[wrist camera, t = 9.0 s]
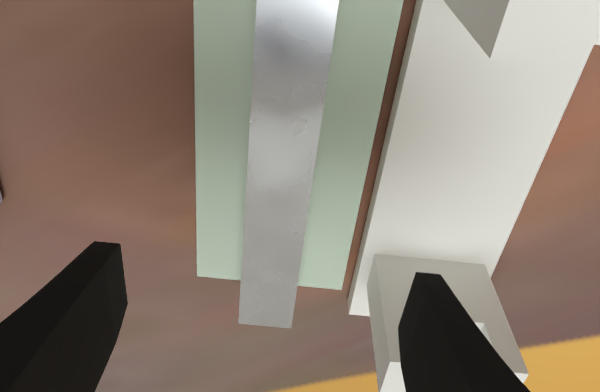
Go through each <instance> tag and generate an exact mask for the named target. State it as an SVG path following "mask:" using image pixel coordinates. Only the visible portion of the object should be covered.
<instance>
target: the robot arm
mask: <svg viewBox="0 0 600 392" xmlns="http://www.w3.org/2000/svg"><path fill="white" fill-rule="evenodd" d="M1 202H2V195H1V192H0V204H1ZM127 304H128V302H127V294H126V286H125V278H124V270H123V262H122V254H121V246H120V244H117V243H106V242H96V241H94V242H93V243H92V244H91V245H89V246H88V247H87V248H86V249H85V250H84V251H83V252H82V253H81V254H80V255H78V256H77V257H76V258H75V259H74V260H73V261H72V262H71V263H70V264H69V265H68V266H67V267H65V268H64V269H63V270H62V271H61V272H60V273H59V274H58V275H57V276H55V277H54V278H53V279H52V280H51V281H50V282H49V283H48V284H46V285H45V286H44V287H43V288H42V289H41V290H40V291H38V292H37V293H36V294H35V295H34V296H33V297H31V298H30V299H29V300H28V301H27V302H26V303H24V304H23V305H22V306H21V307H20V308H18V309H17V310H16V311H15V312H13V313H12V314H11V315H10V316H8V317H7V318H6V319H5V320H3V321H2V322H1V323H0V392H95V390H96V387H97V385H98V383H99V381H100V378H101V376H102V374H103V372H104V369H105V367H106V365H107V362H108V360H109V358H110V355H111V353H112V351H113V348H114V346H115V344H116V341H117V338H118V335H119V331H120V328H121V325H122V321H123V318H124V314H125V311H126V307H127ZM398 338H399V351H400V362H401V370H402V375H403V380H404V385H405V390H406V392H530V391H529V390H528V389H527V387H526V386H525V385H524V384H523V383H522V382H521V381H520V379H519V378H518V377H517V376H516V375H515V374H514V372H513V371H512V370H511V369H510V368H509V366H508V365H507V364H506V363H505V362H504V360H503V359H502V358H501V357H500V355H499V354H498V353H497V352H496V350H495V349H494V348H493V346H492V345H491V344H490V342H489V341H488V340H487V338H486V337H485V336H484V335H483V333H482V332H481V331H480V329H479V328H478V327H477V325H476V324H475V322H474V321H473V320H472V318H471V317H470V316H469V314H468V313H467V311H466V310H465V308H464V307H463V306H462V304H461V303H460V301H459V300H458V298H457V297H456V296H455V294H454V293H453V291H452V290H451V288H450V287H449V286H448V284H447V283H446V281H445V280H444V278H443V277H442V276H441V274H433V273H422V272H416V273H415V276H414V279H413V282H412V285H411V288H410V292H409V295H408V298H407V301H406V304H405V307H404V310H403V313H402V316H401V319H400V322H399V326H398Z"/></svg>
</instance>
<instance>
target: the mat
mask: <svg viewBox="0 0 600 392" xmlns="http://www.w3.org/2000/svg"><path fill="white" fill-rule="evenodd" d="M403 1H404V0H339V4H338V11H337V18H336V25H335V32H334V38H333V45H332V52H331V59H330V66H329V73H328V80H327V86H326V93H325V100H324V107H323V114H322V121H321V127H320V134H319V141H318V148H317V155H316V162H315V169H314V175H313V182H312V189H311V196H310V203H309V210H308V216H307V223H306V230H305V237H304V244H303V251H302V258H301V264H300V271H299V278H298V285H297V286H306V287H317V288H327V289H338V290H341V289H342V285H343V280H344V275H345V271H346V266H347V261H348V257H349V252H350V248H351V243H352V238H353V234H354V229H355V224H356V220H357V215H358V210H359V206H360V201H361V196H362V192H363V187H364V183H365V178H366V173H367V169H368V164H369V159H370V155H371V150H372V145H373V141H374V136H375V131H376V127H377V122H378V118H379V113H380V108H381V104H382V99H383V94H384V90H385V85H386V80H387V76H388V71H389V66H390V62H391V57H392V53H393V48H394V43H395V39H396V34H397V29H398V25H399V20H400V15H401V11H402V6H403ZM256 5H257V0H194V77H195V153H196V230H197V276H200V277H211V278H222V279H232V280H241V270H242V252H243V234H244V217H245V199H246V181H247V164H248V146H249V128H250V111H251V93H252V75H253V58H254V40H255V23H256Z"/></svg>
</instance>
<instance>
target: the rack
mask: <svg viewBox="0 0 600 392" xmlns="http://www.w3.org/2000/svg"><path fill="white" fill-rule="evenodd" d="M594 44H595V45H600V0H416V4H415V8H414V12H413V17H412V21H411V26H410V30H409V34H408V39H407V43H406V47H405V52H404V56H403V60H402V65H401V69H400V74H399V78H398V82H397V87H396V91H395V95H394V100H393V104H392V108H391V113H390V117H389V122H388V126H387V130H386V135H385V139H384V143H383V148H382V152H381V156H380V161H379V165H378V170H377V174H376V178H375V183H374V187H373V191H372V196H371V200H370V205H369V209H368V213H367V218H366V222H365V226H364V231H363V235H362V239H361V244H360V248H359V253H358V257H357V261H356V266H355V270H354V274H353V279H352V283H351V287H350V292H349V296H348V308H349V314H352V315H363V316H370V321H371V330H372V339H373V347H374V356H375V365H376V374H377V382H378V391H379V392H406V390H405V385H404V380H403V375H402V370H401V362H400V351H399V338H398V326H399V322H400V319H401V316H402V313H403V310H404V307H405V304H406V301H407V298H408V295H409V292H410V288H411V285H412V282H413V279H414V276H415V273H416V272H422V273H433V274H441V276H442V277H443V278H444V280H445V281H446V283H447V284H448V286H449V287H450V288H451V290H452V291H453V293H454V294H455V296H456V297H457V298H458V300H459V301H460V303H461V304H462V306H463V307H464V308H465V310H466V311H467V313H468V314H469V316H470V317H471V318H472V320H473V321H474V322H475V324H476V325H477V327H478V328H479V329H480V331H481V332H482V333H483V335H484V336H485V337H486V338H487V340H488V341H489V342H490V344H491V345H492V346H493V348H494V349H495V350H496V352H497V353H498V354H499V355H500V357H501V358H502V359H503V360H504V362H505V363H506V364H507V365H508V366H509V368H510V369H511V370H512V371H513V372H514V374H515V375H516V376H517V377H518V378H519V379H520V381H521V382H522V383H524V381H525V380H526V378H527V376H528V375H529V374H528V371H527V368H526V366H525V363H524V361H523V358H522V356H521V353H520V351H519V348H518V346H517V343H516V341H515V338H514V336H513V333H512V331H511V328H510V326H509V323H508V321H507V318H506V316H505V313H504V311H503V308H502V306H501V303H500V301H499V298H498V296H497V293H496V291H495V288H494V286H493V283H492V281H491V276H492V273H493V271H494V269H495V267H496V264H497V262H498V260H499V258H500V255H501V253H502V251H503V249H504V246H505V244H506V242H507V240H508V237H509V235H510V233H511V231H512V228H513V226H514V224H515V221H516V219H517V217H518V215H519V212H520V210H521V208H522V206H523V203H524V201H525V199H526V197H527V194H528V192H529V190H530V188H531V185H532V183H533V181H534V179H535V176H536V174H537V172H538V170H539V167H540V165H541V163H542V161H543V158H544V156H545V154H546V152H547V149H548V147H549V145H550V143H551V140H552V138H553V136H554V134H555V131H556V129H557V127H558V125H559V122H560V120H561V118H562V115H563V113H564V111H565V109H566V106H567V104H568V102H569V100H570V97H571V95H572V93H573V91H574V88H575V86H576V84H577V82H578V79H579V77H580V75H581V73H582V70H583V68H584V66H585V64H586V61H587V59H588V57H589V55H590V52H591V50H592V48H593V46H594Z"/></svg>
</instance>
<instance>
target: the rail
mask: <svg viewBox="0 0 600 392" xmlns="http://www.w3.org/2000/svg"><path fill="white" fill-rule="evenodd" d="M338 4H339V0H257V5H256V23H255V40H254V58H253V75H252V93H251V111H250V128H249V146H248V164H247V181H246V199H245V217H244V234H243V252H242V270H241V287H240V305H239V323H238V324H249V325H260V326H271V327H282V328H291V326H292V319H293V312H294V305H295V299H296V292H297V285H298V278H299V271H300V264H301V258H302V251H303V244H304V237H305V230H306V223H307V216H308V210H309V203H310V196H311V189H312V182H313V175H314V169H315V162H316V155H317V148H318V141H319V134H320V127H321V121H322V114H323V107H324V100H325V93H326V86H327V80H328V73H329V66H330V59H331V52H332V45H333V38H334V32H335V25H336V18H337V11H338Z"/></svg>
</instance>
